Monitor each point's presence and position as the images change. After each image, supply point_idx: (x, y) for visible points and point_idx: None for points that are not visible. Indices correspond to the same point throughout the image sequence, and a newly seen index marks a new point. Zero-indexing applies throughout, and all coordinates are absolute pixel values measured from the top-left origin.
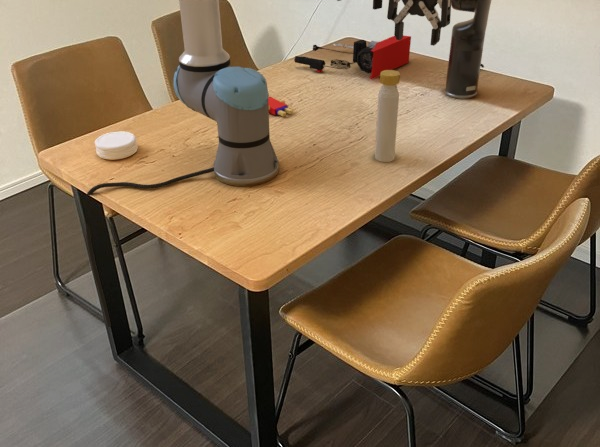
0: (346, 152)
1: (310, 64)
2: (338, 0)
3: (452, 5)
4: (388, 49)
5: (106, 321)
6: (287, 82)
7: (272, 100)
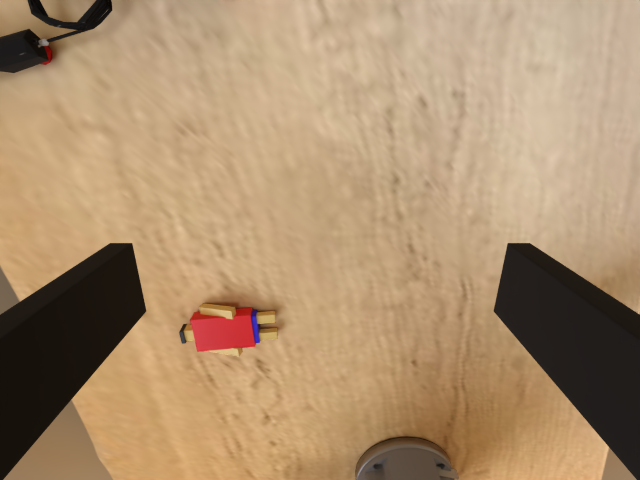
0: (479, 345)
1: (4, 70)
2: (143, 312)
3: None
4: None
5: None
6: (82, 190)
7: (212, 327)
